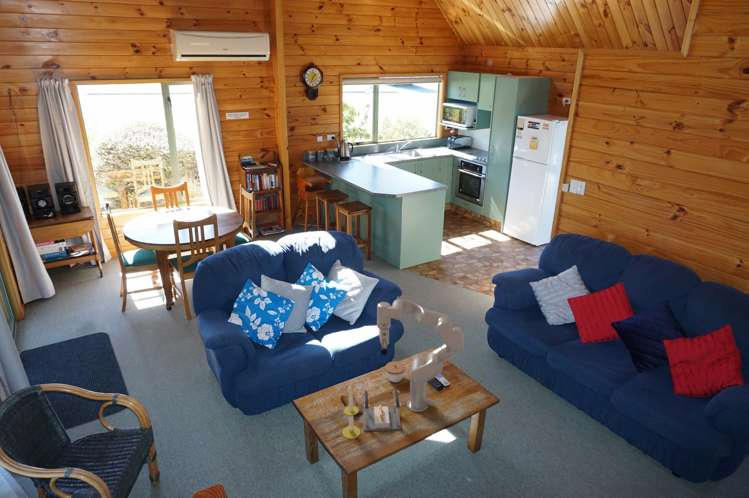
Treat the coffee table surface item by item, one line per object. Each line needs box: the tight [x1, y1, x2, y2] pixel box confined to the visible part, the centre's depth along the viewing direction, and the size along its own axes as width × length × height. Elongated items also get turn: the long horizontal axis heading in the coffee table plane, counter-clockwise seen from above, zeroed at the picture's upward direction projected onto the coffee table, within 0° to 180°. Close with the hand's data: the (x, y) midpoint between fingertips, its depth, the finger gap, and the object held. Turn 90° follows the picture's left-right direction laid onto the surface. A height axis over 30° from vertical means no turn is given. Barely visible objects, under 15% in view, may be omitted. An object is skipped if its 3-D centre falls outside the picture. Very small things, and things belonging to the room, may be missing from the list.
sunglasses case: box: [340, 395, 364, 418], centre depth 300 cm, size 18×7×7 cm
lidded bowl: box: [384, 361, 406, 383], centre depth 323 cm, size 13×13×11 cm
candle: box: [342, 383, 361, 440], centre depth 274 cm, size 10×10×32 cm
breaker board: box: [362, 390, 402, 432], centre depth 286 cm, size 21×16×15 cm
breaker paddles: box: [378, 404, 383, 420], centre depth 287 cm, size 1×9×3 cm, turn 2°
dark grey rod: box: [364, 390, 369, 409], centre depth 283 cm, size 2×15×2 cm, turn 3°
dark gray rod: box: [394, 389, 400, 408], centre depth 284 cm, size 2×15×2 cm, turn 3°
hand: (383, 349), depth 290 cm, fingers open, 9 cm apart
